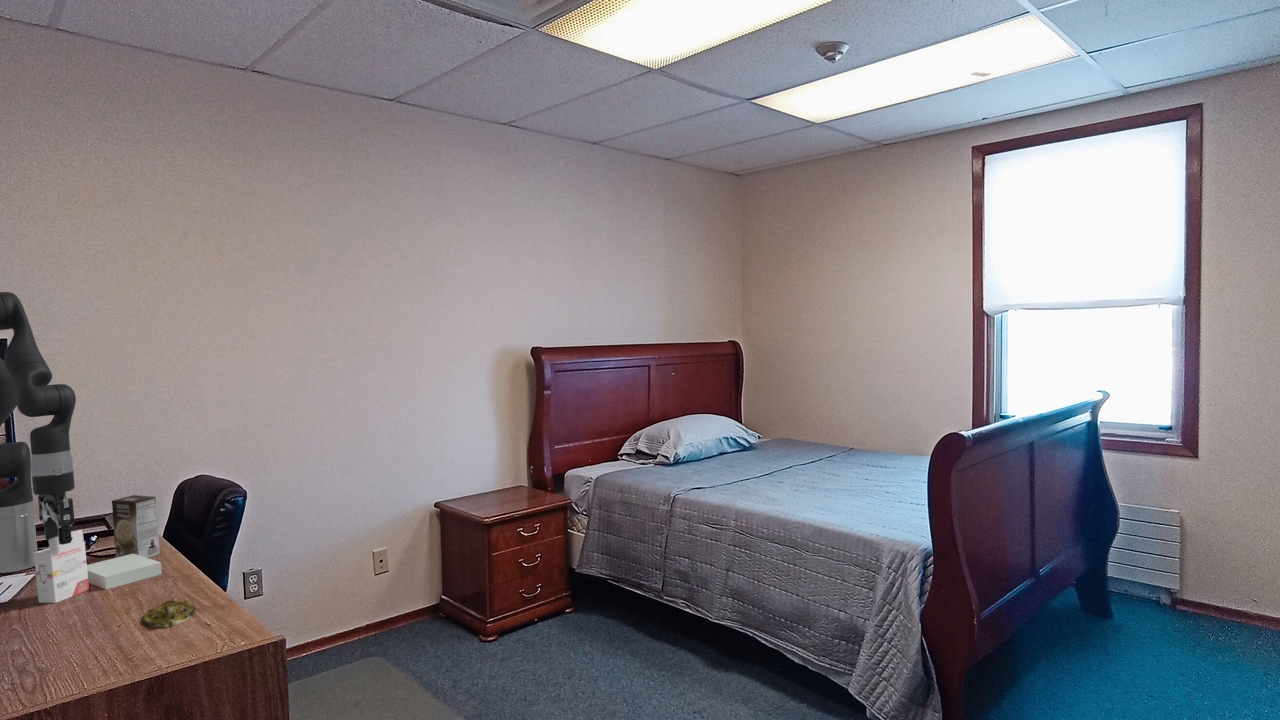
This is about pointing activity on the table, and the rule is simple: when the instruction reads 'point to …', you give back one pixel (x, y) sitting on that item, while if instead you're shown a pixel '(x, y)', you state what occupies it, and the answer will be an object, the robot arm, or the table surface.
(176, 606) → the olive green oval lump
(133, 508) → the coffee box
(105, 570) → the plinth
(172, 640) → the table surface
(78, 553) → the ink cartridge box
